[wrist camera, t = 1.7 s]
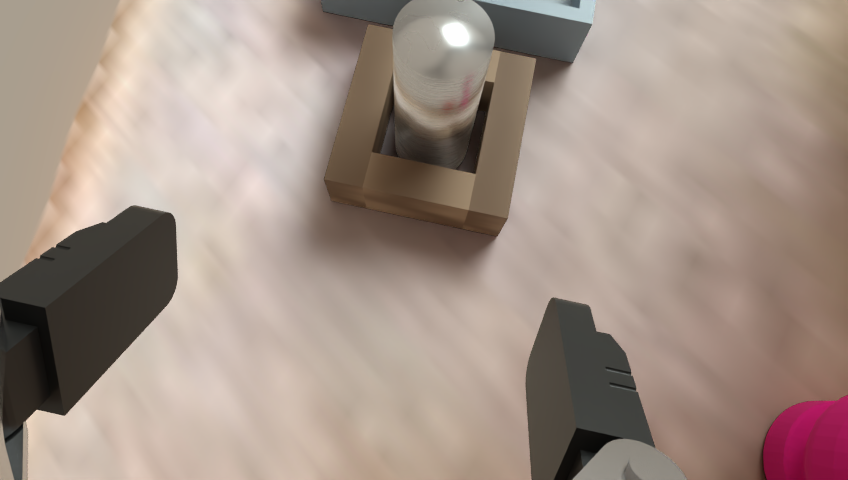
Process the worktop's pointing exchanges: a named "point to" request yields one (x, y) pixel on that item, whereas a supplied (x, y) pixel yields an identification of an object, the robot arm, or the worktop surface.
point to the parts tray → (503, 22)
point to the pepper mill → (809, 442)
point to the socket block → (419, 182)
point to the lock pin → (439, 78)
